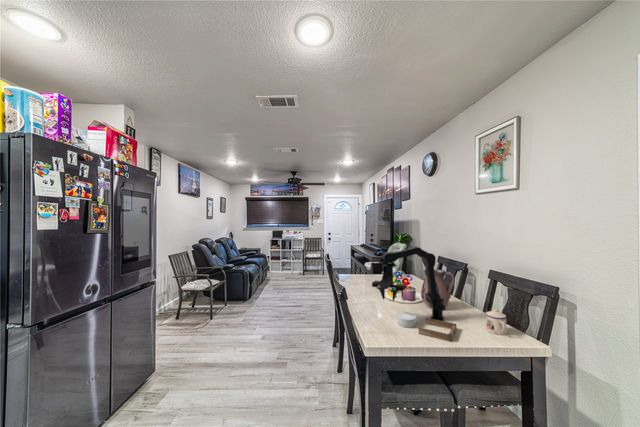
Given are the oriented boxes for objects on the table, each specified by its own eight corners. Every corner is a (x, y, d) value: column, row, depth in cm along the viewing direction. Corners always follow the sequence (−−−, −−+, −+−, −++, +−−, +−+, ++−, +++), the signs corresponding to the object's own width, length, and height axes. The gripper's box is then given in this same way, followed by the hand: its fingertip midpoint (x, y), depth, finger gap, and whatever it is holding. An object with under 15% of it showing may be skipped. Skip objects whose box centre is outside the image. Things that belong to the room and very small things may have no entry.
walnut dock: (426, 323, 146) (426, 317, 146) (456, 329, 137) (456, 323, 138) (418, 334, 132) (418, 328, 132) (451, 341, 123) (450, 335, 124)
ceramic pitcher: (422, 301, 186) (421, 267, 187) (454, 305, 176) (454, 269, 177) (420, 309, 170) (419, 271, 171) (456, 313, 161) (455, 274, 162)
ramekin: (408, 330, 137) (408, 320, 137) (392, 323, 146) (392, 314, 146) (421, 325, 143) (421, 316, 143) (404, 319, 152) (404, 310, 153)
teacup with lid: (482, 327, 139) (482, 306, 140) (500, 328, 138) (499, 306, 139) (495, 337, 128) (494, 314, 128) (514, 338, 127) (514, 314, 127)
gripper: (367, 274, 151) (368, 300, 150) (398, 278, 140) (399, 306, 139) (375, 271, 160) (375, 296, 159) (405, 274, 149) (405, 301, 148)
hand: (388, 300), depth 151 cm, fingers open, 6 cm apart
